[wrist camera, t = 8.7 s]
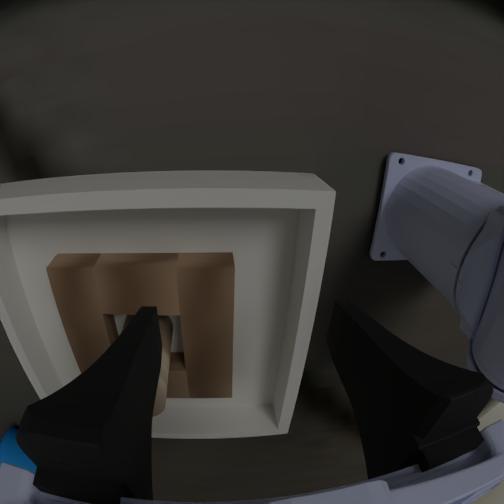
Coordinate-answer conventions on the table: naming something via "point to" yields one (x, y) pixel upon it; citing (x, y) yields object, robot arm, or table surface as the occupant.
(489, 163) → the table surface
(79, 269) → the bore plate
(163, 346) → the peg
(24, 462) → the alarm clock
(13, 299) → the tray
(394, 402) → the robot arm
